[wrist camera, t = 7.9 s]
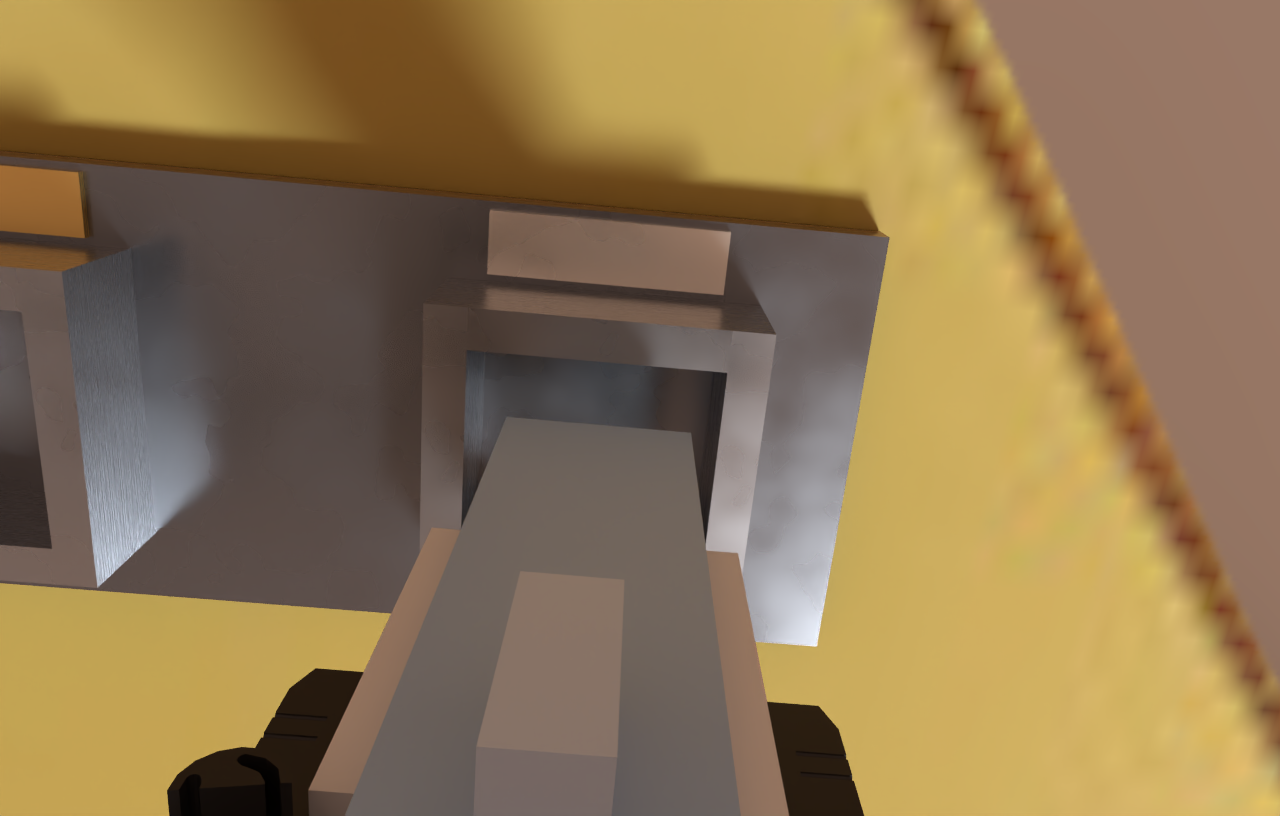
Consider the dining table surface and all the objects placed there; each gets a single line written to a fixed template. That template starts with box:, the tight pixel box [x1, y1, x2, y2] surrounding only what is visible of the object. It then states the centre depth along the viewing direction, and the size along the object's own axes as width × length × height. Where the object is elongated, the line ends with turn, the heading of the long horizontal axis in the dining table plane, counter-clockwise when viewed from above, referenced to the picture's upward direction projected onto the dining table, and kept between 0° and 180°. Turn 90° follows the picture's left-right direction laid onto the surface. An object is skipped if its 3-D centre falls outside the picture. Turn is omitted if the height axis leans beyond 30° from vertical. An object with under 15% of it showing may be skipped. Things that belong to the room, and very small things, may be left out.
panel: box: [0, 151, 889, 646], centre depth 24 cm, size 30×12×4 cm, turn 85°
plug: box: [345, 417, 741, 816], centre depth 14 cm, size 4×6×15 cm
